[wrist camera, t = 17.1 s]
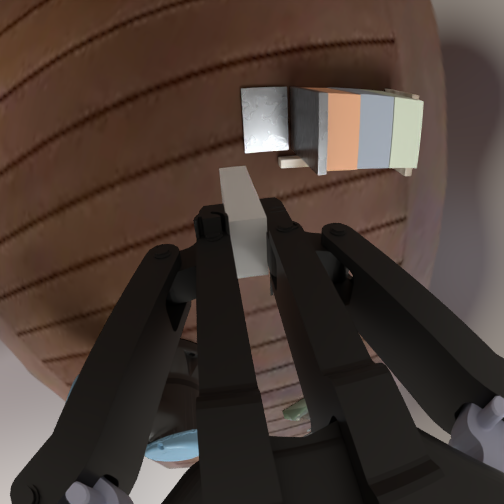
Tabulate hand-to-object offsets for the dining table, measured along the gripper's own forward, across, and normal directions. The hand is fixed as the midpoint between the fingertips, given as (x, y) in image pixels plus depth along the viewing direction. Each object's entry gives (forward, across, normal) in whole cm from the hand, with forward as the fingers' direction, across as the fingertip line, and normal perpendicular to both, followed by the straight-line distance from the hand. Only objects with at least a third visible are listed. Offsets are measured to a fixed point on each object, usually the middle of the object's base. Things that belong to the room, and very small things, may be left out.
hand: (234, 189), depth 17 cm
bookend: (+24, +7, 0) cm, 25 cm away
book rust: (+25, +13, 0) cm, 28 cm away
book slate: (+25, +18, 0) cm, 30 cm away
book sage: (+25, +22, 0) cm, 33 cm away
